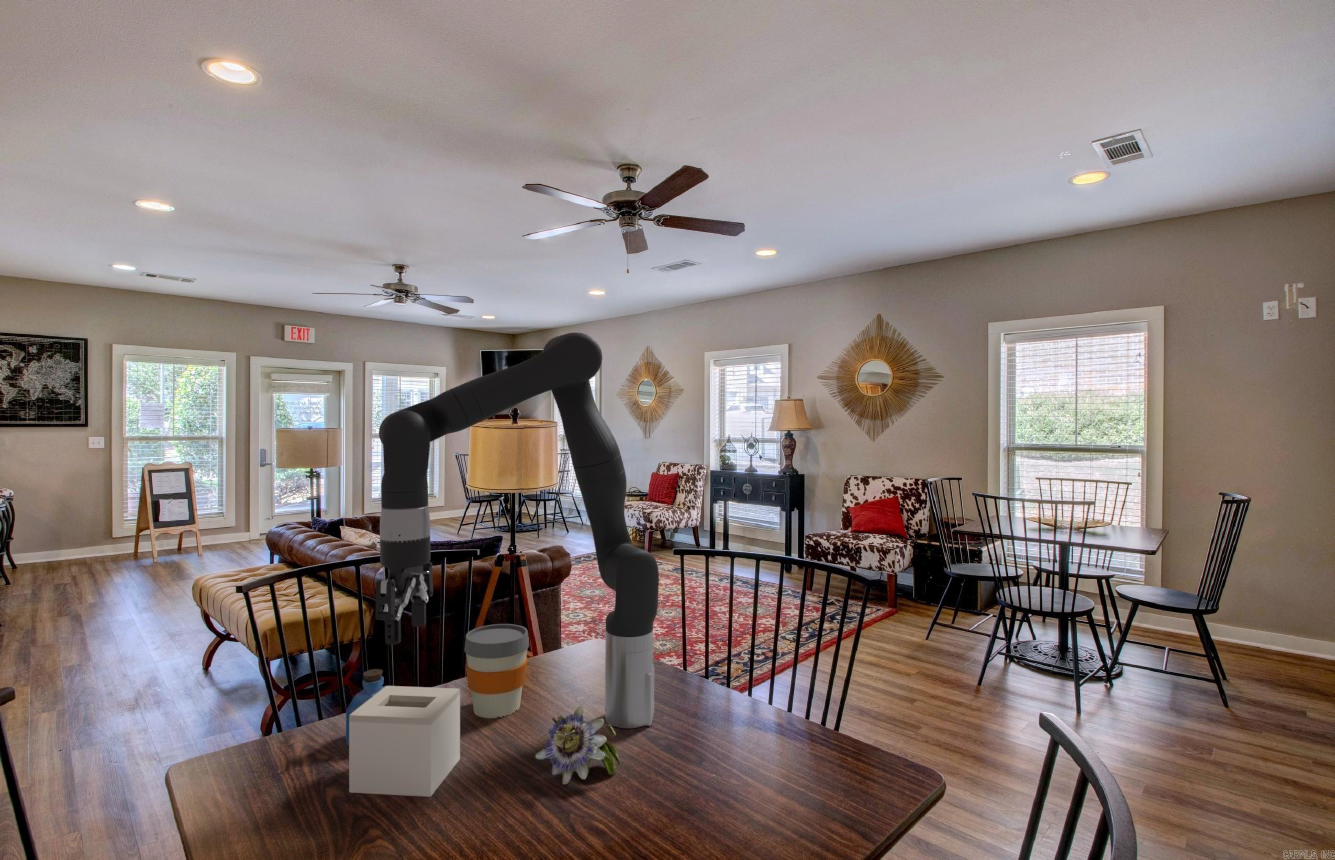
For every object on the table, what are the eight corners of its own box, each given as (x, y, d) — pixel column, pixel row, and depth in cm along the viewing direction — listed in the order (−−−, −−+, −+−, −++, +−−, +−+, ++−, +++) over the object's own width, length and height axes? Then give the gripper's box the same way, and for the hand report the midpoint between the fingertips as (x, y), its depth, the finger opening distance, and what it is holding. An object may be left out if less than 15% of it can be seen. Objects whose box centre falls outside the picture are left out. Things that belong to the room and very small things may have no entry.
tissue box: (459, 758, 108) (460, 688, 108) (430, 796, 97) (430, 718, 97) (386, 755, 109) (386, 685, 109) (349, 792, 98) (349, 714, 98)
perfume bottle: (377, 748, 111) (377, 680, 111) (346, 745, 113) (346, 677, 113) (398, 732, 117) (398, 667, 117) (369, 728, 119) (369, 664, 119)
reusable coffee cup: (501, 689, 136) (501, 619, 136) (542, 704, 129) (542, 631, 129) (450, 710, 126) (451, 635, 126) (492, 728, 119) (492, 648, 119)
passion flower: (567, 816, 101) (521, 759, 100) (582, 767, 112) (541, 715, 111) (623, 784, 99) (578, 726, 98) (633, 737, 110) (592, 684, 108)
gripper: (406, 543, 95) (407, 651, 95) (446, 527, 109) (447, 621, 110) (358, 542, 96) (359, 649, 96) (404, 526, 110) (405, 620, 110)
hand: (406, 634), depth 103 cm, fingers open, 8 cm apart
